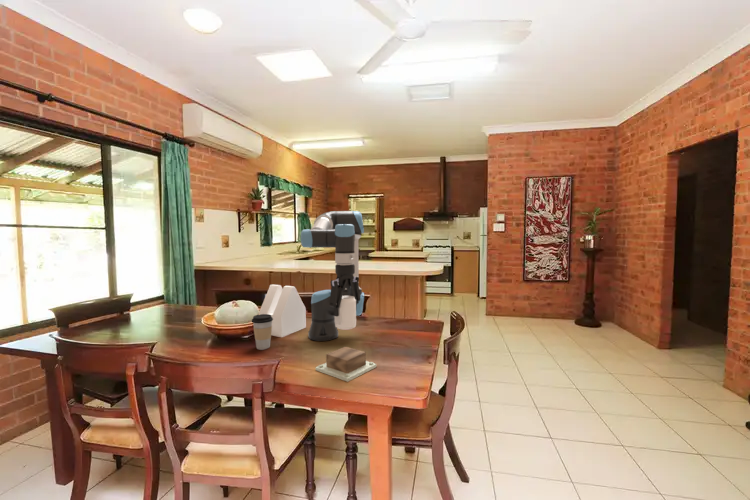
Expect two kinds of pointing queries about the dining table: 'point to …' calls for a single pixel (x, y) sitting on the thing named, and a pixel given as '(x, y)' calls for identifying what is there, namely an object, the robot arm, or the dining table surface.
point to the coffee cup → (262, 330)
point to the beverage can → (347, 312)
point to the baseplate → (345, 376)
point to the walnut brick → (346, 359)
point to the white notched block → (284, 310)
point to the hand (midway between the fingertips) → (345, 321)
